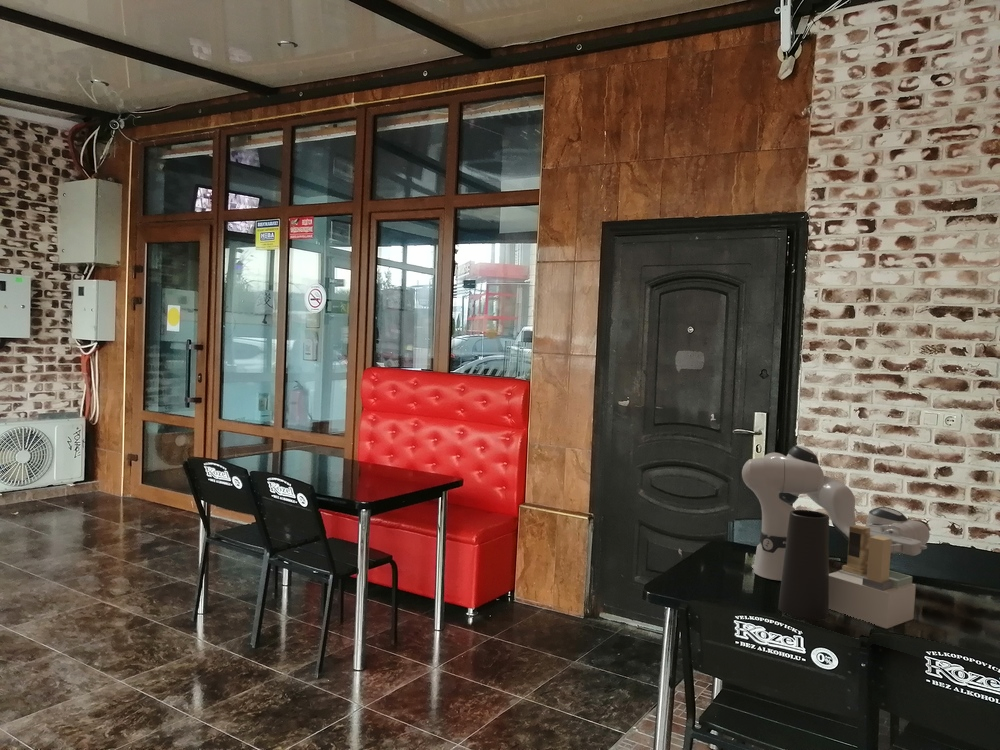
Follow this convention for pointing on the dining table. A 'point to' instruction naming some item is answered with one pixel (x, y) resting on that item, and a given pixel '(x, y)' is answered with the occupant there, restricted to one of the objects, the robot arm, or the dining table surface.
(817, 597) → the vase
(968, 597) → the dining table surface
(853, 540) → the block
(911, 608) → the grey boxy piece
